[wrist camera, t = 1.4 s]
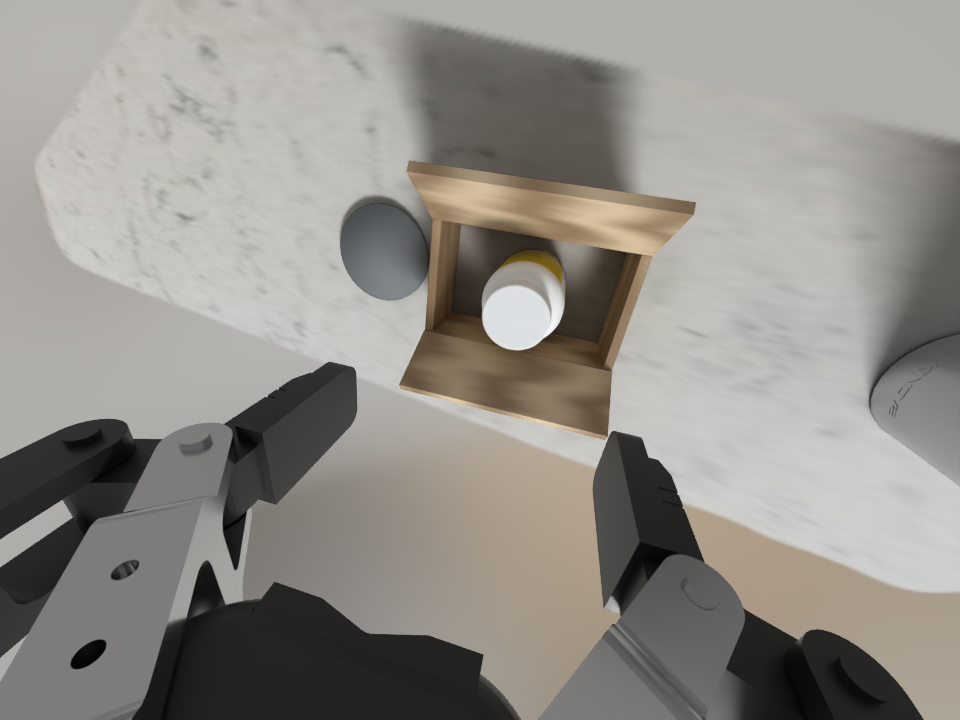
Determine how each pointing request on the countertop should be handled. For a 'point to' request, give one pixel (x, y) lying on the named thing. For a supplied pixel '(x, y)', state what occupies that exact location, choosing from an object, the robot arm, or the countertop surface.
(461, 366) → the carton
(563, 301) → the supplement bottle
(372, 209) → the coaster
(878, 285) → the countertop surface
